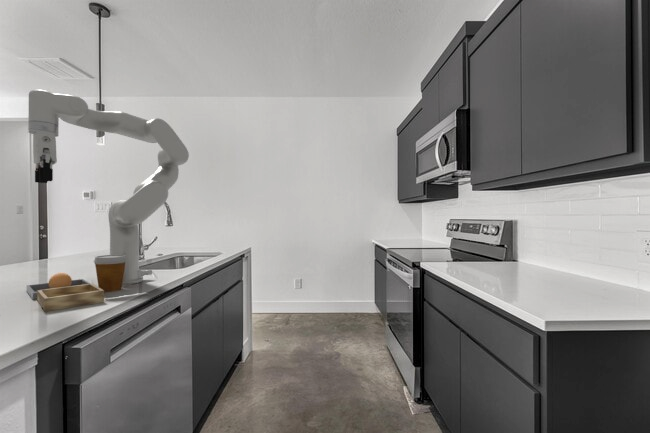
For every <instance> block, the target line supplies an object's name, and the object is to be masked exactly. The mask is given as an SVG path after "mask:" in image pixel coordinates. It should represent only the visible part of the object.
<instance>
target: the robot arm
mask: <svg viewBox="0 0 650 433" xmlns="http://www.w3.org/2000/svg"><path fill="white" fill-rule="evenodd" d="M59 118H60V120H61V121H63V122H65V123H67V124H69V125H70V124H71V125H73V126H77V127H81V128H83V129H87V130H92V131H93V130H94V131H99V132H104V133H108V134H115V135H116V134H117V135H120V136H124V137H127V138H132V139H135V140H138V141H142V142H146V143H151V144H158V146H159V147H160V148H161V149H159V151H158V153H157V161H158V167H157V169H156V171H154V172H153V173H152V174H151V175H150V176H148V177H147V178H146V179H145V180H143V181H141V182H140V184H138V185H137V186H136V187H135V188H134V190H133V194H132V195H131V196H130V197H129V198H127V199H121V200H117V201H115V202H114V203H112V204H111V206H110V207H109V209H108V223H109V224H108V225H109V255H125V256H126V259H127V260H126V262H125V268H124V275H123V282H122V285H128V284H129V285H130V284H131V285H134V284H139V283H142V282H143V281H144V276H151V275H153V270H152V269H147V270H146V269H145V270H143V269H140V268H139V266H140V263H139V262H140V229H139V225H140V224H142V223H143V222H145V221H146V220H147V219H148V218H149V217H151V216H152V215H153V214H154V213H155V212H156V211H157V210H158V209H160V208H161V207H162V206H163V205H164V204H165V203H166V201H167V199H168V198H169V190H170V189H171V188H172V187H173V186H174V184H176V183H177V181H178V179H179V174H180V173H179V166H182V165H184V164H186V163H187V162H188V160H189V156H190V152H189V150H188V148H187V147H186V145H185V144H184V142H183V141H182V140H181V138H180V137H179V136H178V135H177V133H176V131H175V130H174V129H173V127H171V125H169V123H167V121H166V120H164V119H162V118H158V117H157V118H153V119H150V120H148V119H145V118H142V117H139V116H137V115H136V116H135V115H133V114H130V113H126V112H123V111H116V110H115V111H102V110H94V109H90V108H89V105H88V102H86V101H85V100H84V99H83V98H82V97H79V96H76V95H70V94H62V93H54V92H52V91H47V90H43V89H32V90H30V91H29V92H28V124H27V125H28V127H27V128H28V130H27V131H28V132H27V133H29V134H31V135H32V136H33V137H32V138H33V139H32V149H33V150H32V152H33V153H32V154H33V156H32V157H33V163H34V164H35V170H34V182H35V183H39V184H47V183H48V182H52V181H54V180H53V178H54V177H53V176H54V170H53V166H54V165H56V164H57V161H58V160H57V158H58V157H57V141H56V137H59V128H60V127H59V125H60V124H59V121H60V120H59Z"/></svg>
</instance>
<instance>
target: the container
mask: <svg viewBox="0 0 650 433" xmlns="http://www.w3.org/2000/svg"><path fill="white" fill-rule="evenodd" d="M85 284H92V283H90V282H89V281H87V280H85V279H84V278H81V279H79V278H78V279H72V283H71V285H70V286H76V285H85ZM44 289H51V288H50V287H49V282H46V283H37V284H27V285H26V293H27V294H28V295H29V297H30V298H31V299H32V300H33V301H34V300H37V290H44Z"/></svg>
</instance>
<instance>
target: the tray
mask: <svg viewBox="0 0 650 433" xmlns="http://www.w3.org/2000/svg"><path fill="white" fill-rule="evenodd" d="M36 301H37V302H38V304H40V307H41V309H42V310H43V312H51V311H57V310H58V311H59V310H64V309H69V308H75V307H81V306H87V305H93V304H100V303H104V302H105V292H104V290H103V289H101V288H99V287H98V285H96V284H94V283H91V284H85V285H76V286H68V287H60V288H52V289H44V290H37V299H36Z"/></svg>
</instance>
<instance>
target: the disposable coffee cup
mask: <svg viewBox="0 0 650 433" xmlns="http://www.w3.org/2000/svg"><path fill="white" fill-rule="evenodd" d="M126 260H127V259H126V256H125V255H110V254H105V255H97V256H95V257H94V260H93V263H94V265H95V273H96V279H97V287H99V288H101V289H103V290H104V293H110V292H111V293H112V292H117V291H120V290H122V287H123V284H122V282H123V275H124V268H125V262H126Z"/></svg>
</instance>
